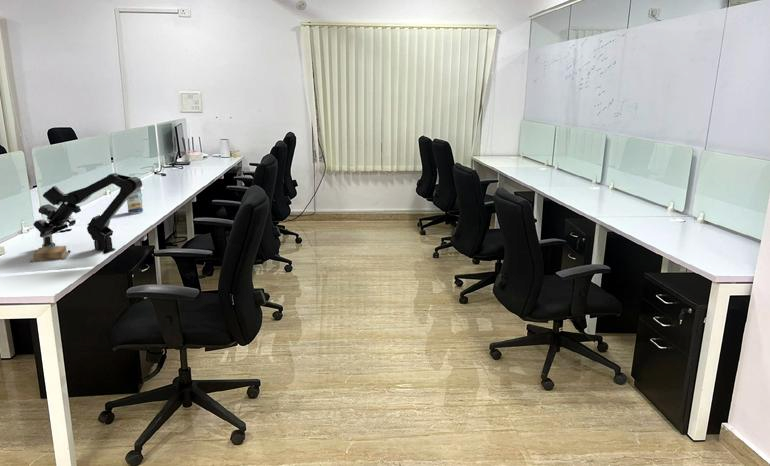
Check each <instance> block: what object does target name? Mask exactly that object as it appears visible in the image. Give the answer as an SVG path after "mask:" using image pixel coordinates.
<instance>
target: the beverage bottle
mask: <svg viewBox="0 0 770 466" xmlns="http://www.w3.org/2000/svg"><path fill="white" fill-rule="evenodd" d="M142 196H143V194H142V188H140V189H139V190H138V191H137V192H135V193H134V194H133V195H131V196H130V197H129V198H128V199H127V200H126V204H127V212H128V213H129V214H133V215H134V214H135V215H136V214H141V213H143V212H144V207H143V199H142Z"/></svg>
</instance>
